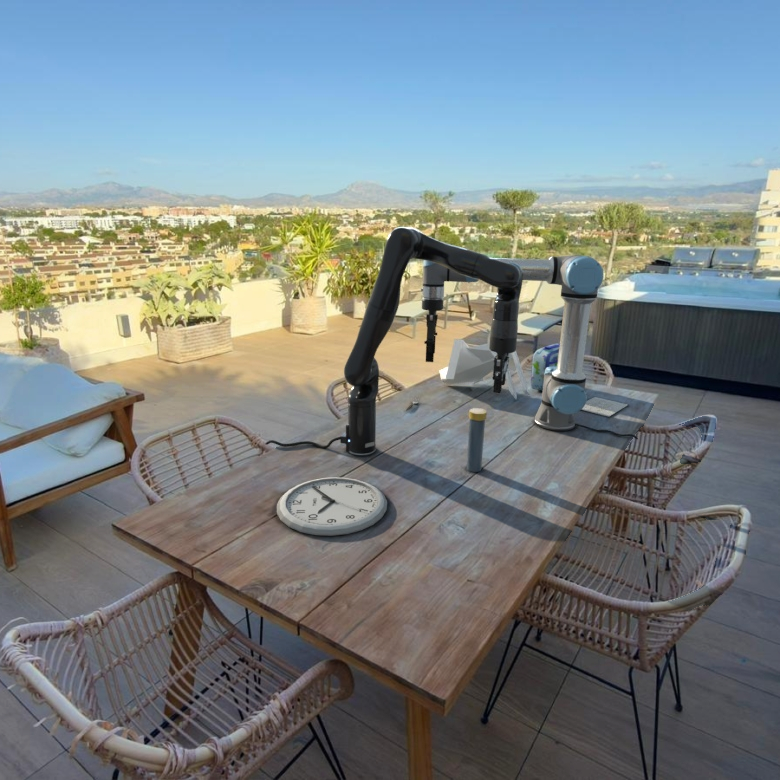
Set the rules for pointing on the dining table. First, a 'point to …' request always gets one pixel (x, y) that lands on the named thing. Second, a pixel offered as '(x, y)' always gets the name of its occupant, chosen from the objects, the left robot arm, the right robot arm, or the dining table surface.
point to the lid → (477, 414)
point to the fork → (413, 403)
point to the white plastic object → (477, 366)
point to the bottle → (475, 445)
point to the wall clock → (331, 506)
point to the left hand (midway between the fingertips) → (499, 388)
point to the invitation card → (603, 406)
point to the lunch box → (543, 364)
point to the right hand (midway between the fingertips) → (430, 357)
